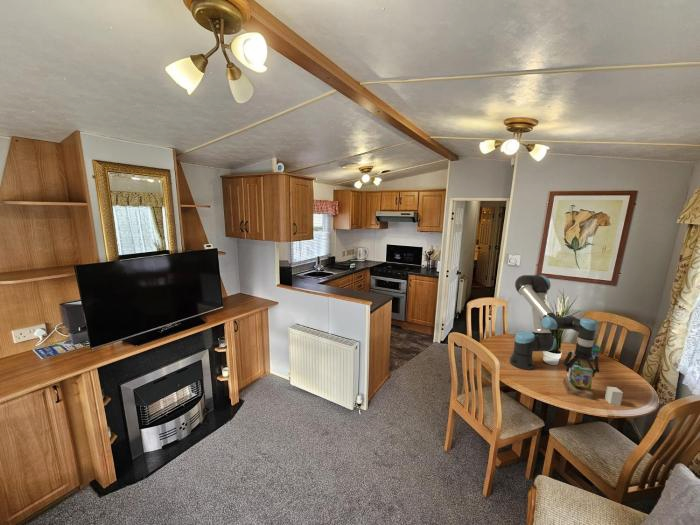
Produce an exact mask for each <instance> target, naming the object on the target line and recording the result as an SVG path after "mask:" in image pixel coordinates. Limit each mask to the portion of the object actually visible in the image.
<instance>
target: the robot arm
mask: <svg viewBox="0 0 700 525" xmlns="http://www.w3.org/2000/svg"><path fill="white" fill-rule="evenodd" d="M514 287H515V289H516V290H515V291H516V292H518V294H519V295H520V296H523V297H524V299H525V300H526V301H527V302H528V304H529V305H530V307H531V311H532V320H533V330H532V331H518V332H517V333H516V334H515V337H514V346H513V352H512V354H511V355H510V357H509V363H511V364H510V365H511V366H513V367H515V368H517V369H521V370H528V371H529V370H530V371H531V370H533V369H534V367H535V363H534V359H533V353H534V352H551V351H554V349H556V347H557V339H556V337H555V335H553V334H552V330H573V331H575V332H577V339H576V344H575V349H574V350H571V349H569V350H568V353H567V355H566V357H565V359H564V361H563V362H562V363H563V365H564V367H565V366H566V368H565V370H566V372H567V374H566V377H567V376H568V378H570V373H571V367H570V366H572V365H573V364H574V363H575V362H578V360H580V361H581V360H583V361H586V362H587V365H588V366H589V367H590V368H591V369H592V370H593V376H592V378H595V375H596V373H600V367H599V363H598V362H599V361H598V360H599V356H598V355H592V348H593V347H592V346H593V344H594V342H595V335H596V332H597V322H596V320H594V319H590V318H583V317H582V318H578V317H576V316H573V315H571V314H564V315H563V316H557V315H556V314H555V313H554V312H553V311H552V310H551V308H550V307H549V306H548V305H547V303H546V304H545V301H546V295H548V292H549V291H550V289H551V281H550V279H549V278H548V277H547V276H545V275H540V274H529V275H528V274H523V275H521V276H518V277H517V278H516V280H515V282H514ZM544 300H545V301H544ZM551 334H552V335H553V336H552V335H551ZM554 337H555V338H554ZM574 354H575V355H574ZM573 355H574V356H573ZM572 356H573V358H572ZM591 357H593V359H594V361H593V364H594V366H593V364H592V362H591V360H589V358H591Z"/></svg>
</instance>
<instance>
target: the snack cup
mask: <svg viewBox="0 0 700 525" xmlns="http://www.w3.org/2000/svg"><path fill="white" fill-rule="evenodd" d="M592 347H593V348H592V355H597V356H598V355H599V353H600V351H601V347H600V346H599V345H597V344H595V343H593V346H592ZM589 360H590V361H593V362H594V359H593V357H591V358H589Z"/></svg>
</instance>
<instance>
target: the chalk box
mask: <svg viewBox="0 0 700 525" xmlns="http://www.w3.org/2000/svg"><path fill="white" fill-rule="evenodd" d="M570 367H571V373H570V378H568V376H567V375H566V379H568V380H569V381H570V382H571V384H572V385H573V386H578V387H585V388H590V389H592V382H593V377H592V376H593V370H592V369H591V368H590V366H589V364H588V363H584V362H582V361H581V360H580V359H579V360H577V361H576V362H575V363H574V364H573V365H572V366H570Z"/></svg>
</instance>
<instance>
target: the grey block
mask: <svg viewBox="0 0 700 525" xmlns="http://www.w3.org/2000/svg"><path fill="white" fill-rule="evenodd" d="M605 388H606V389H605V396H604V400H605V401H606V402H608V403H609V405H613V406H614V405H615V406H621V404H622V400H623V399H622V398H623V394H624V392H623V391H622V390H620V389H619V388H618V387H614V386H606V387H605Z"/></svg>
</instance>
